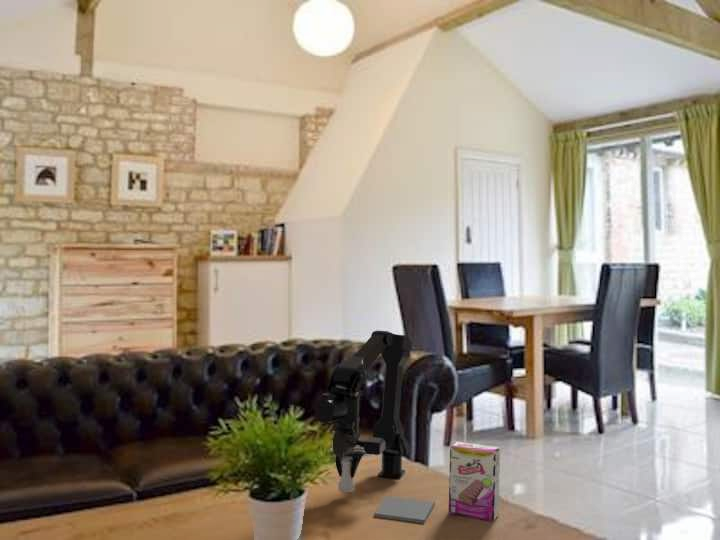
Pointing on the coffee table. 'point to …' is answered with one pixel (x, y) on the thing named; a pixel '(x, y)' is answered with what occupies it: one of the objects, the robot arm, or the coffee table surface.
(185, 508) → the coffee table surface
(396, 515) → the gray mat
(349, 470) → the rook chess piece
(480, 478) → the candy bar box
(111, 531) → the coffee table surface
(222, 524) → the coffee table surface
